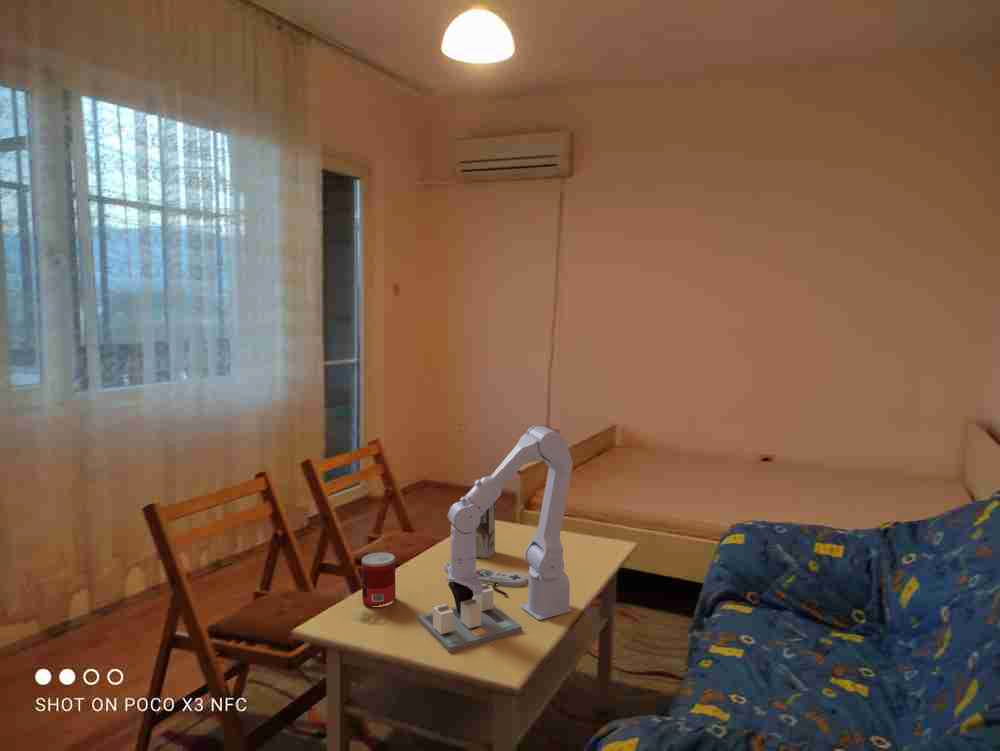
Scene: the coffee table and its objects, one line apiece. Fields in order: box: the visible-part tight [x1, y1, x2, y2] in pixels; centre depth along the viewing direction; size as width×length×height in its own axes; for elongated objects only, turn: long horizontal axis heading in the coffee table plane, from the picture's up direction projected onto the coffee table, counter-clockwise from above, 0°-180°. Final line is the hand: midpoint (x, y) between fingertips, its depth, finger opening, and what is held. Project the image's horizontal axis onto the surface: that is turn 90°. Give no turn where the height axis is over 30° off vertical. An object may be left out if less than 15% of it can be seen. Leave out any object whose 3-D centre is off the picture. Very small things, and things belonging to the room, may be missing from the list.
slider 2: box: [461, 598, 481, 628], centre depth 150 cm, size 3×4×5 cm
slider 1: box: [432, 603, 454, 634], centre depth 147 cm, size 3×4×5 cm
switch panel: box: [417, 604, 523, 653], centre depth 152 cm, size 18×16×1 cm
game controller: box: [476, 568, 528, 598], centre depth 174 cm, size 15×13×2 cm
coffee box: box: [465, 495, 496, 559], centre depth 195 cm, size 9×6×16 cm
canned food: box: [361, 551, 396, 608], centre depth 164 cm, size 8×8×11 cm
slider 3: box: [473, 583, 494, 611], centre depth 158 cm, size 3×4×5 cm
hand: (462, 613), depth 153 cm, fingers closed
